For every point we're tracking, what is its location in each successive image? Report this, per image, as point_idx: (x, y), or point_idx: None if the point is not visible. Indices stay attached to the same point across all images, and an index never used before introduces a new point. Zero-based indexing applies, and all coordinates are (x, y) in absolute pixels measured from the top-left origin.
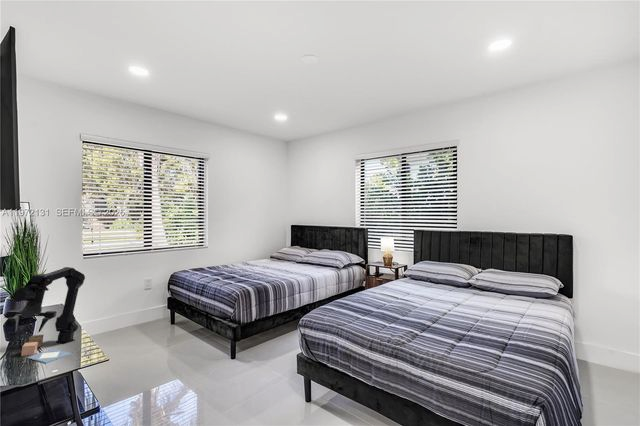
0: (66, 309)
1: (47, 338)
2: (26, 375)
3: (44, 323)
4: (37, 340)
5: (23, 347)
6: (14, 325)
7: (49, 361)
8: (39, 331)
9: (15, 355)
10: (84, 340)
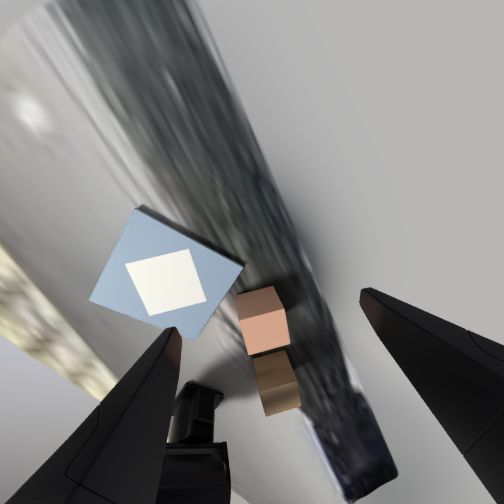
0: None
1: (264, 414)
2: (141, 70)
3: (49, 458)
4: (267, 378)
5: (278, 306)
6: (455, 337)
7: (128, 220)
8: (163, 332)
9: (294, 294)
10: None
